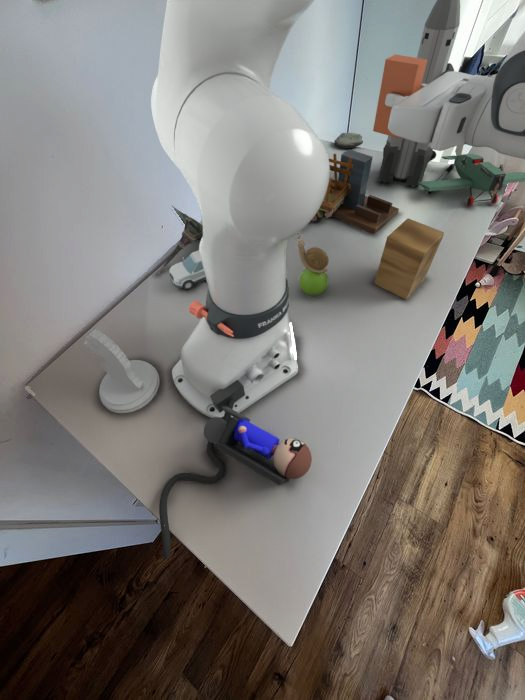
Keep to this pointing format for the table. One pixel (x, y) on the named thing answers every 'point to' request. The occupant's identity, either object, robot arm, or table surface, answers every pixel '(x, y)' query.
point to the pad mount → (362, 197)
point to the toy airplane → (475, 176)
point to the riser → (407, 257)
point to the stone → (348, 140)
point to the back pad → (397, 86)
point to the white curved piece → (122, 376)
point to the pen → (444, 175)
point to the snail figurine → (313, 269)
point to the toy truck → (334, 190)
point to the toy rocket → (436, 47)
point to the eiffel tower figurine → (186, 234)
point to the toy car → (188, 271)
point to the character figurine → (259, 447)
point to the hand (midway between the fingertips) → (394, 94)
